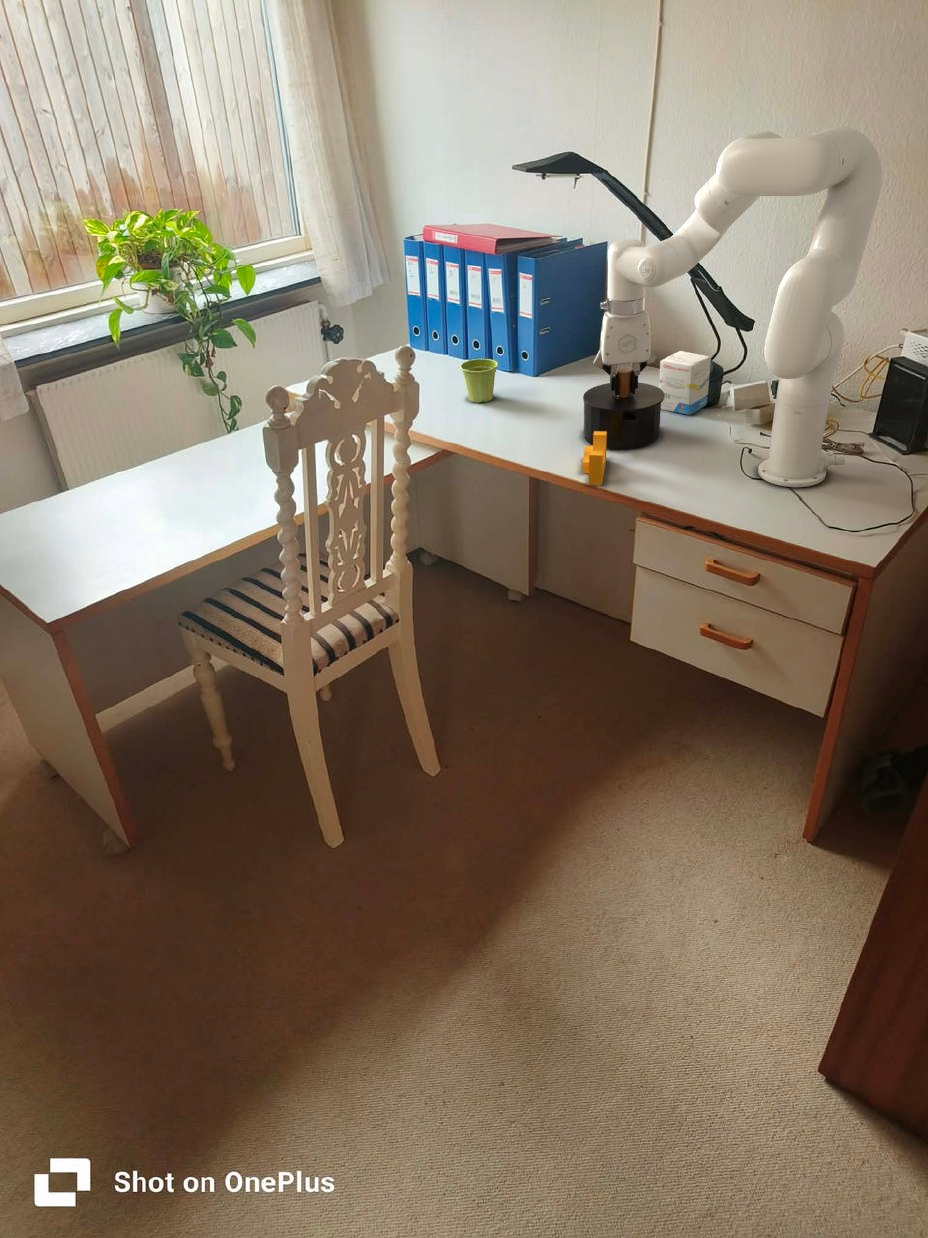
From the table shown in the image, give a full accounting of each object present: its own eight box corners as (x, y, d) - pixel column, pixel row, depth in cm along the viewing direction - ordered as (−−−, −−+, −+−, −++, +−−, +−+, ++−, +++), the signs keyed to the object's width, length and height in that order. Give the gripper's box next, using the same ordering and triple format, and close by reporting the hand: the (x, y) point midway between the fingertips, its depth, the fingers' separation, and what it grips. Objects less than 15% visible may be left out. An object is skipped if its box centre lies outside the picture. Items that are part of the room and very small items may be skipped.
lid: (654, 383, 197) (656, 354, 193) (672, 411, 183) (674, 380, 179) (578, 390, 197) (577, 361, 194) (589, 418, 183) (589, 387, 179)
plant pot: (506, 394, 221) (505, 360, 216) (487, 407, 214) (485, 372, 210) (475, 390, 225) (473, 356, 220) (455, 402, 219) (452, 368, 214)
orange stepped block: (585, 459, 185) (585, 431, 181) (605, 460, 184) (606, 431, 181) (580, 484, 175) (580, 454, 172) (601, 485, 175) (602, 455, 171)
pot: (648, 414, 203) (649, 378, 199) (669, 451, 185) (671, 413, 181) (577, 419, 204) (577, 384, 199) (592, 457, 186) (592, 419, 181)
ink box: (708, 404, 206) (712, 355, 199) (689, 415, 201) (693, 365, 194) (676, 397, 211) (679, 349, 204) (657, 408, 206) (659, 359, 199)
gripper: (588, 313, 176) (588, 402, 186) (669, 306, 175) (665, 395, 186) (583, 304, 182) (583, 390, 192) (661, 297, 182) (657, 383, 192)
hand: (623, 391), depth 189 cm, fingers closed on lid, 3 cm apart
